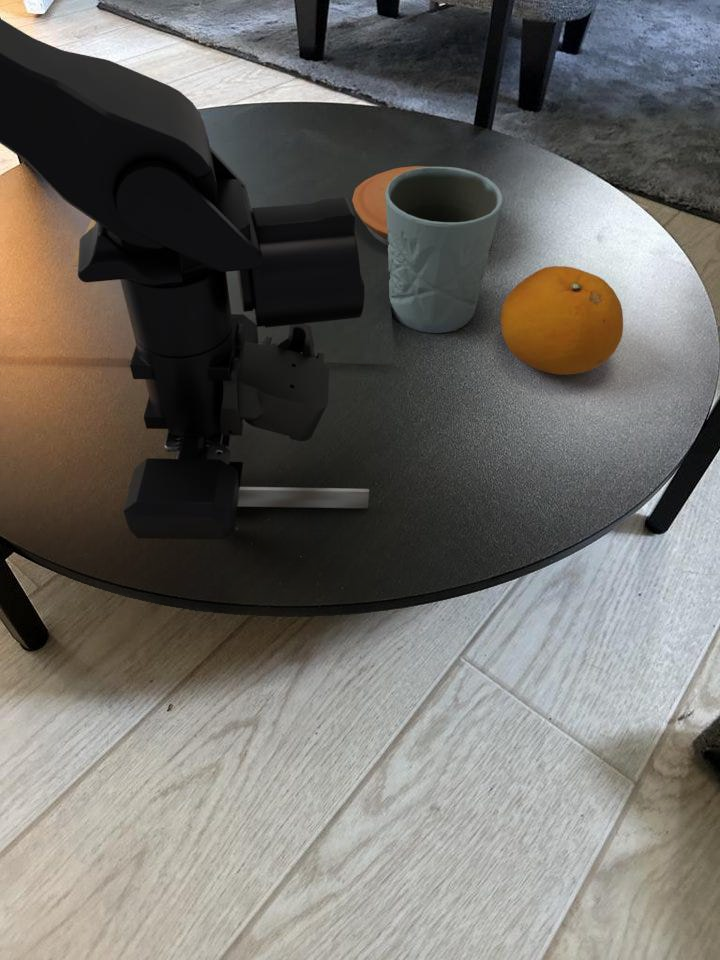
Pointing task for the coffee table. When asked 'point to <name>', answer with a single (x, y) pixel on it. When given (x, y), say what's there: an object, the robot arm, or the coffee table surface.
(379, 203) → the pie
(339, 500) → the chisel
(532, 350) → the fruit
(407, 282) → the green ceramic cup
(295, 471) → the coffee table surface
